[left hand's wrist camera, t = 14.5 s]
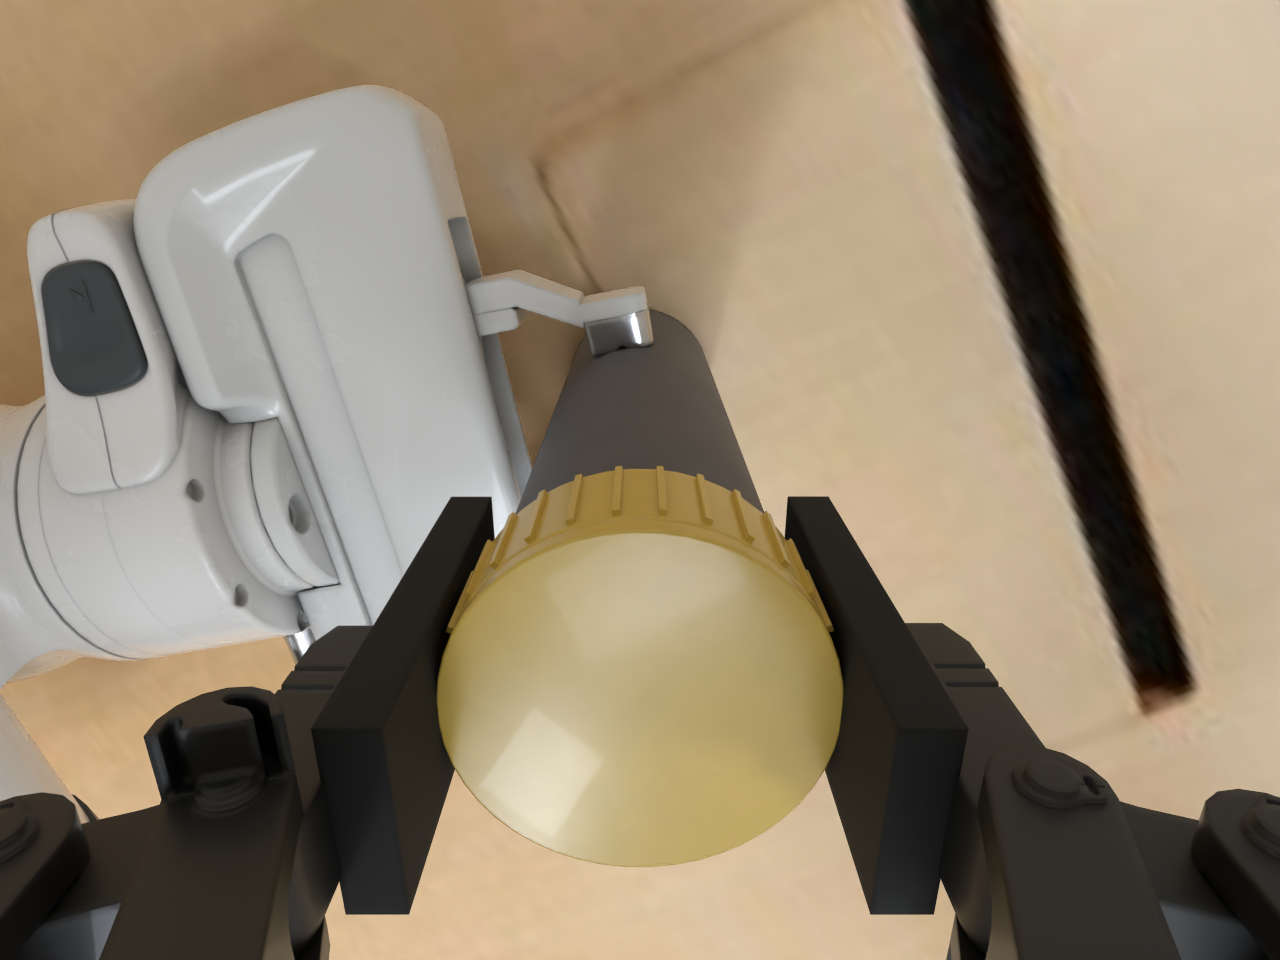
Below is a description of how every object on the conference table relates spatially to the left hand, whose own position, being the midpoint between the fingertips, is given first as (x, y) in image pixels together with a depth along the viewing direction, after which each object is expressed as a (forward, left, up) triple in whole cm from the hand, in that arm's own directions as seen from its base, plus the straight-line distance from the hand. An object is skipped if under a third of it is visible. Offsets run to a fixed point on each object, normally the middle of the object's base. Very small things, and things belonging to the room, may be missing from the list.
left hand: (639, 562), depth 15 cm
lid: (0, 0, +4) cm, 4 cm away
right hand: (-1, 0, -9) cm, 9 cm away
